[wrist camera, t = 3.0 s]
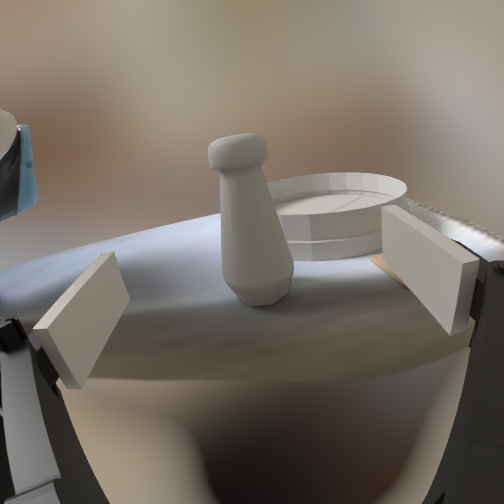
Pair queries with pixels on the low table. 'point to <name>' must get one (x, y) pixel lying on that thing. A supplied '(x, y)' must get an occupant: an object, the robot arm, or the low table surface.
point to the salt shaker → (250, 222)
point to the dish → (334, 213)
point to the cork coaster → (386, 267)
